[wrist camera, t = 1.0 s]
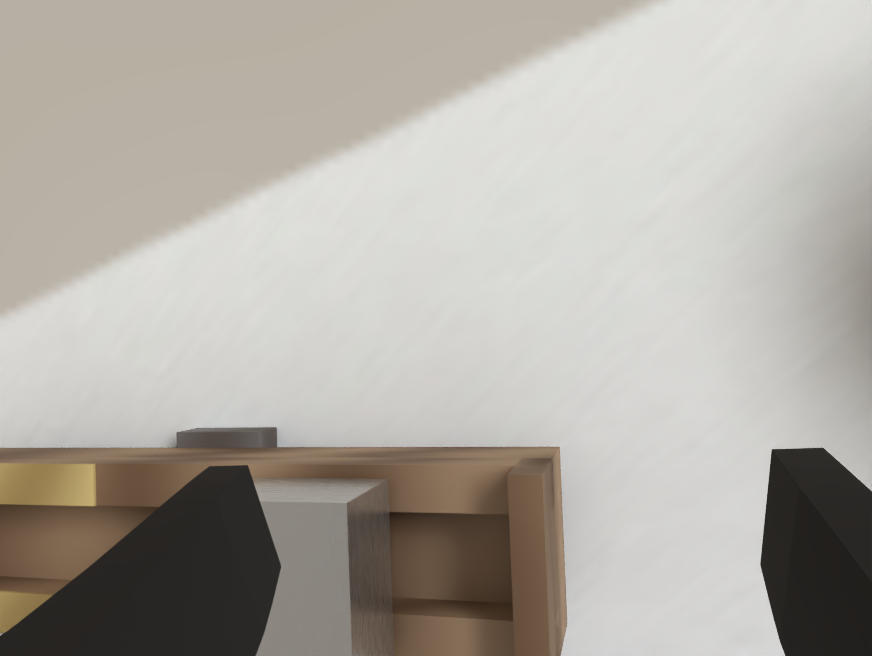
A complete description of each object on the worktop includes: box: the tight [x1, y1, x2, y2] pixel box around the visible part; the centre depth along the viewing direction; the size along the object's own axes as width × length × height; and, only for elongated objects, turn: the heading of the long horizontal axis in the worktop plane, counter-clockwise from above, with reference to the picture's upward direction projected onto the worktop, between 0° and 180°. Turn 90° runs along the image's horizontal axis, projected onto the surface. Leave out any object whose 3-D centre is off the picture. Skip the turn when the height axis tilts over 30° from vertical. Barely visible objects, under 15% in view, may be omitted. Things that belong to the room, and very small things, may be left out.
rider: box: [252, 478, 395, 656], centre depth 18 cm, size 4×4×4 cm
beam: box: [0, 427, 567, 656], centre depth 22 cm, size 22×6×6 cm, turn 92°
